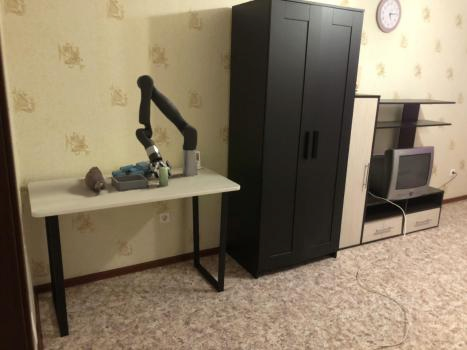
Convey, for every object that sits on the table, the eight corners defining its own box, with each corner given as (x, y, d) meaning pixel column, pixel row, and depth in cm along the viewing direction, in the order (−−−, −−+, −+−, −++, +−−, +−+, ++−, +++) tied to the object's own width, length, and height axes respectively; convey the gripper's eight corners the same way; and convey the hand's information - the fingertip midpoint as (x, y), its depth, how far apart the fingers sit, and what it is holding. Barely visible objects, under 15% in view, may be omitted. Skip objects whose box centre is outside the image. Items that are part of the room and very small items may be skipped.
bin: (140, 181, 233) (139, 174, 232) (148, 187, 221) (147, 179, 220) (112, 185, 224) (111, 177, 223) (118, 191, 212) (118, 183, 211)
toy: (108, 165, 245) (150, 155, 260) (110, 178, 248) (152, 167, 263) (119, 173, 227) (164, 161, 242) (122, 187, 230) (166, 174, 245)
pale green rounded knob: (166, 183, 230) (165, 166, 227) (169, 186, 226) (169, 168, 223) (158, 185, 227) (157, 167, 225) (161, 187, 223) (160, 169, 220)
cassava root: (88, 199, 202) (107, 197, 207) (87, 180, 199) (107, 179, 203) (81, 175, 236) (98, 174, 241) (80, 158, 233) (97, 158, 237)
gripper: (145, 152, 223) (156, 175, 217) (166, 150, 232) (176, 171, 227) (141, 159, 228) (151, 181, 222) (161, 157, 237) (171, 178, 232)
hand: (164, 176), depth 224 cm, fingers open, 8 cm apart
